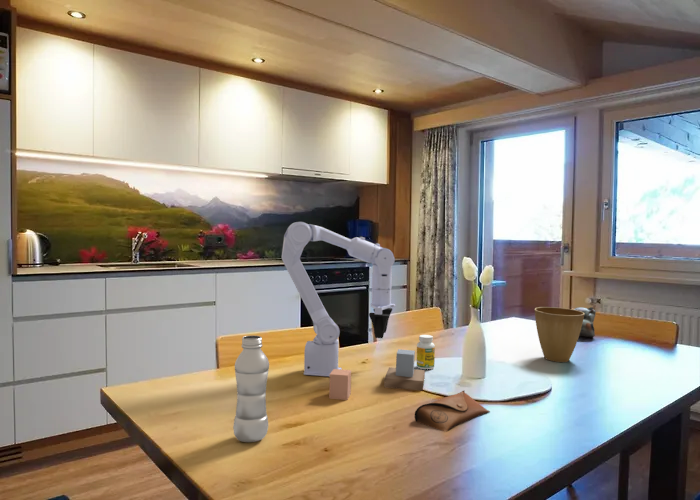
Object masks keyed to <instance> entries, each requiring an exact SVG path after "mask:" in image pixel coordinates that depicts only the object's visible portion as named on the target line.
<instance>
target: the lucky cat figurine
mask: <svg viewBox="0 0 700 500" xmlns="http://www.w3.org/2000/svg"><path fill="white" fill-rule="evenodd" d="M573 310H577V311H581V312H583V313H584V319H583V323H582V327H581V331H580V335H579V337H586V338H590V339H593V338H594V337H596V333H595V332H596V331H595V326H594V321H595V318H596V313H597V311H596V310H595V309H594V308H593V307H592V306H591V307H588V308H587V307H580V306H579V307H575V308H574V309H573Z"/></svg>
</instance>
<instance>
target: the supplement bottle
mask: <svg viewBox="0 0 700 500" xmlns="http://www.w3.org/2000/svg"><path fill="white" fill-rule="evenodd" d="M433 337H434V336H433V335H430V334H421V335H419V338H418V340H419V342H417V344H416V367H418V368H417V369H419V368H420V369H419V370H422V369H427V370H426V371H429V370H428V369H431V370H434V368H435V358H436V356H435V353H436V352H435V351H436V350H435V349H436V346H435V343H434V342H433V340H434V339H433Z"/></svg>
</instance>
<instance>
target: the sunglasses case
mask: <svg viewBox="0 0 700 500" xmlns="http://www.w3.org/2000/svg"><path fill="white" fill-rule="evenodd" d="M490 412H491V411H490V410H488V409H487V408H485V407H484V406H483V405H481V404H480V403H479V402H477V401H476V400H475V399H473V397H472V396H470V395H469V394H468V393H466V392H465V390H461V391H460V392H457V393H454V394H451V395H449V396H445V397H443V398H440V399H437V400H434V401H431V402H427V403H424V404H422V405H420V406H419V407H417V408H416V409H415V412H414V420H415V422H416V423H419V424H421V425H422V424H423V425H425V426H427V427H431V428H433V429H436V430H439V431H443V432H444V433H445V432H449V431H450V430H451V429H454V428H455V427H457V426H460V425H462V424H463V423H466V422H468V421H470V420H473V419H475V418H477V417H480V416H483V415H486V414H489V413H490Z"/></svg>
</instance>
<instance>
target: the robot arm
mask: <svg viewBox="0 0 700 500" xmlns="http://www.w3.org/2000/svg"><path fill="white" fill-rule="evenodd" d="M318 241H319V242H320V241H323V242H325V243H328V244H331V245H333V246H337V247H340V248H342V249H344V250H346V251H347V253H348V255H349V257H353V258H355V259H358V260H360V261H363V262H365V263H368V264H370V263H371V264H372V273H371V303H370V307H371V308H372V311H373V312H369V313H368V317H369V318H370V320H371V323H372V328H373V332H374V337H375V339H383V338H384V335H385V333H386V332H387V329H388V325H389V324H388V323H389V320H390V316H391V313H392V311H393V308H395V307H396V304H395V303H392V283H393V279H392V278H393V275H392V269H393V267H392V266H393V265H394V264H395V261H396V258H395V256H394V252H393V251H392V250H390V249H389V248H387V247H382V246H381V244H380V243H378V242H376V243H373V242H371V241H368V240H366V237H363V236H359V237H357V236H356V237H353V238H349V237H345V236H344V235H341V234H339V233H336V232H334V231H332V230H330V229H327V228H325V227H323V226H319V225H315V224H311V223H309V224H308V223H306V222H304V221H296V222H293V223H291V224H290V225H289V226H288V227H287V229H286V231H285V233H284V235H283V243H282V250H281V260H282V262H283V264H284V267H285V269H286V270H287V272H288V274H289V276H290V278H291V280H292V282H293V284H294V286H295V289H296V290H297V292H298V294H299V296H300V298H301V300H302V301H303V302H302V303H303V304H304V306H305V308H306V309H307V312H308V314H309V316H310V318H311V320H312V323H313V324H312V325H313V331H314V333H315V334H316V335H315V337H314V338H313V339H312V340H308V341H306V343H305V347H304V354H303V355H304V359H303V360H304V361H303V362H304V363H303V364H304V366H303V369H304V370H303V371H304V372H303V375H305V376H317V377H319V376H320V377H329V378H330V373H331V372H332V371H333V369H341V370H343V369H342V367H339V337H340V333H341V331H340V328H339V326H338V324H337V323H336V322H335V321H334V319H332V317H330V315H329V313H328V311H327V310H326V308H325V306H324V305H323V302H322V300H321V299H320V297H319V295H318V292H317V291H316V289H315V287H314V284H313V283H312V280H311V279H310V276H309V275H308V273H307V271H306V269H305V267H304V265H303V262H302V260H301V256H302V253H303V251H304V248H305V247H306V245H308V243H309V242H318Z"/></svg>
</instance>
